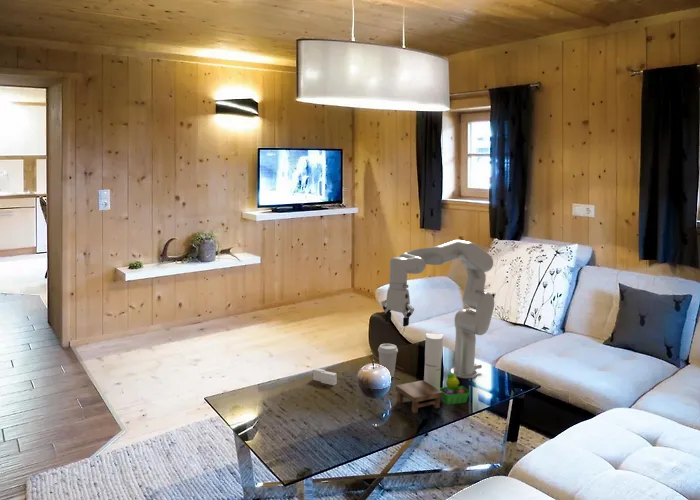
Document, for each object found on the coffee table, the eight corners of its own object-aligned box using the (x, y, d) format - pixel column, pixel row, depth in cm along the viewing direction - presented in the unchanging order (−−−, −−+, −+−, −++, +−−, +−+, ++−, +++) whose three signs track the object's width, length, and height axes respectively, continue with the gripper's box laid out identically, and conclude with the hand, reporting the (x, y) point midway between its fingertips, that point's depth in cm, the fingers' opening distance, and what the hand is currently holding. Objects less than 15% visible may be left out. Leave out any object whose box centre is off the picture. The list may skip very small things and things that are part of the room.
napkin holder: (342, 386, 259) (343, 374, 258) (319, 390, 254) (320, 377, 253) (329, 374, 272) (329, 363, 271) (307, 378, 267) (307, 366, 266)
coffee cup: (397, 373, 274) (398, 343, 272) (396, 381, 265) (398, 350, 262) (377, 372, 275) (378, 342, 273) (376, 379, 266) (377, 348, 263)
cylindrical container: (422, 387, 258) (424, 334, 255) (437, 387, 259) (440, 334, 255) (425, 393, 251) (428, 339, 248) (441, 393, 252) (444, 339, 248)
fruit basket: (445, 406, 239) (447, 380, 237) (436, 397, 248) (438, 372, 246) (470, 403, 242) (471, 378, 240) (460, 395, 251) (462, 371, 249)
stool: (422, 395, 249) (423, 380, 248) (441, 408, 237) (442, 392, 236) (395, 400, 243) (395, 385, 242) (413, 414, 231) (414, 397, 230)
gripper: (419, 287, 245) (418, 325, 248) (387, 281, 256) (386, 317, 259) (408, 290, 239) (407, 329, 242) (377, 283, 251) (376, 321, 254)
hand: (396, 323), depth 251 cm, fingers open, 9 cm apart
